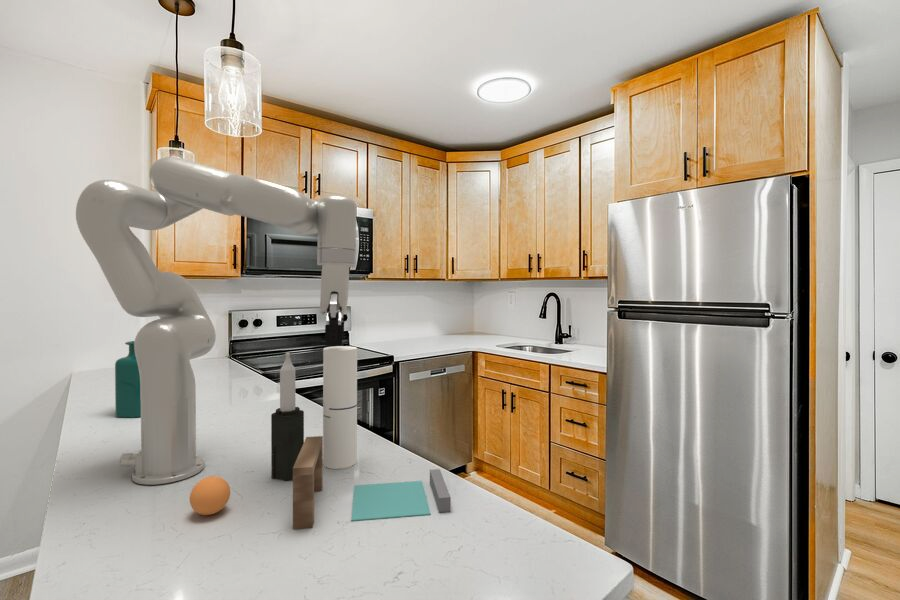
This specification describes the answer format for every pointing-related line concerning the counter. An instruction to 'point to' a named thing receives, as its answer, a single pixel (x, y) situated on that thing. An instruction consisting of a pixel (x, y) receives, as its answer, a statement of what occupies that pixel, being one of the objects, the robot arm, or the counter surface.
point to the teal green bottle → (127, 385)
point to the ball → (209, 495)
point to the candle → (286, 426)
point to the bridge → (307, 481)
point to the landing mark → (389, 500)
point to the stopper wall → (440, 491)
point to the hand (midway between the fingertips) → (334, 342)
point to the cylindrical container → (339, 406)
